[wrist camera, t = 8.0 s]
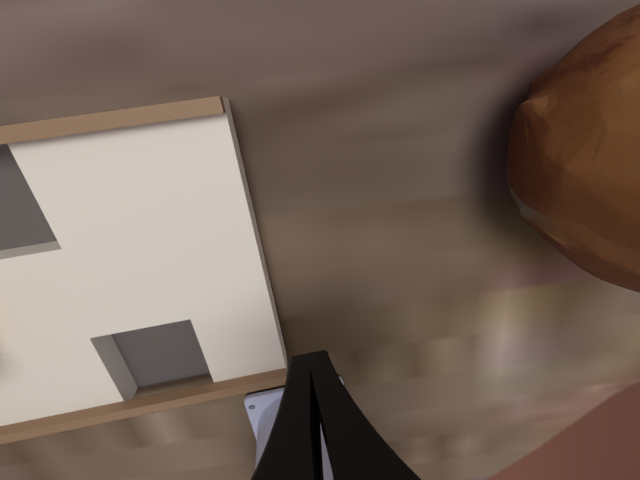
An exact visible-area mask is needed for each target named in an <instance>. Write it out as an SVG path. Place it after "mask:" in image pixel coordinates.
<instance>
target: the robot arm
mask: <svg viewBox="0 0 640 480" xmlns="http://www.w3.org/2000/svg"><path fill="white" fill-rule="evenodd" d="M244 404H245V407H246V410H247V413H248V416H249V420H250V423H251V426H252V429H253V432H254V435H255V438H256V441H257V447H256V466H255V472H254V474H253V476H252V478H251V480H421V479H420V478H419V477H418V476H417V475H416V474H415V473H414V472H413V471H412V470H411V469H410V468H409V467H408V466H407V465H406V464H405V463H404V462H403V461H402V460H401V459H400V458H399V457H398V456H397V455H396V453H395V452H394V451H393V450H392V449H391V448H390V447H389V446H388V444H387V443H386V442H385V441H384V440H383V439H382V437H381V436H380V435H379V434H378V433H377V431H376V430H375V429H374V428H373V426H372V425H371V424H370V423H369V421H368V420H367V419H366V417H365V416H364V415H363V413H362V412H361V410H360V409H359V408H358V406H357V405H356V403H355V402H354V401H353V399H352V398H351V396H350V394H349V393H348V391H347V390H346V388H345V387H344V383H343V379H342V378H341V377H339V376H338V375H337V373H336V371H335V369H334V367H333V365H332V363H331V360H330V358H329V355H328V352H327V351H325V350H322V351H317V352H313V353H308V354H303V355H298V356H293V357H291V358H290V359H289V367H288V373H287V378H286V383H285V387H283V388H278V389H273V390H269V391H264V392H259V393H254V394H250V395H247V396H246V397H245V399H244Z"/></svg>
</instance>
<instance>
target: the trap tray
mask: <svg viewBox="0 0 640 480" xmlns="http://www.w3.org/2000/svg"><path fill="white" fill-rule="evenodd" d="M208 373H210V374H211V376H212V379H213V382H214V383H209V384H204V385H199V386H194V387H190V388H185V389H180V390H175V391H170V392H165V393H160V394H155V395H151V396H146V397H141V398H136V399H133V397H134V395H135V393H136V391H137V389H138V388H139V387H144V386H149V385H153V384H158V383H163V382H168V381H173V380H178V379H183V378H188V377H193V376H198V375H203V374H208ZM286 378H287V354H286V350H285V345H284V341H283V337H282V332H281V328H280V323H279V319H278V315H277V310H276V306H275V302H274V297H273V293H272V288H271V284H270V280H269V275H268V271H267V266H266V262H265V258H264V253H263V249H262V245H261V240H260V236H259V231H258V227H257V223H256V218H255V214H254V210H253V205H252V201H251V196H250V192H249V188H248V183H247V179H246V174H245V170H244V166H243V161H242V157H241V153H240V148H239V144H238V139H237V135H236V131H235V126H234V122H233V118H232V113H231V109H230V104H229V100H228V98H224V97H221V96H217V97H209V98H202V99H195V100H188V101H180V102H173V103H166V104H158V105H151V106H144V107H137V108H129V109H122V110H115V111H107V112H100V113H93V114H85V115H78V116H71V117H64V118H56V119H49V120H42V121H34V122H27V123H20V124H13V125H5V126H0V444H5V443H10V442H15V441H19V440H24V439H29V438H34V437H38V436H43V435H48V434H53V433H58V432H62V431H67V430H72V429H77V428H81V427H86V426H91V425H96V424H101V423H105V422H110V421H115V420H120V419H124V418H129V417H134V416H139V415H144V414H148V413H153V412H158V411H163V410H167V409H172V408H177V407H182V406H187V405H191V404H196V403H201V402H206V401H210V400H215V399H220V398H225V397H230V396H234V395H239V394H244V393H249V392H253V391H258V390H263V389H268V388H273V387H277V386H282V385H285V383H286Z"/></svg>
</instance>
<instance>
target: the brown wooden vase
mask: <svg viewBox="0 0 640 480" xmlns="http://www.w3.org/2000/svg"><path fill="white" fill-rule="evenodd" d="M506 170H507V178H508V183H509V190H510V194H511V197H512V198H513V200H514V202H515V203H516V205H517V207H518V209H519V211H520V214H521V216H522V217H523V218H524V219H525V220H526V221H527V222H528V223H529V224H530V225H531V226H532V227H533V228H534V229H535V230H536V231H537V232H538V233H539V234H540V235H541V236H542V237H543V238H545V239H546V240H547V241H548V242H549V243H550V244H551V245H552V246H554V247H555V248H556V249H557V250H558V251H560V252H561V253H562V254H563V255H564V256H566V257H567V258H568V259H570V260H571V261H572V262H573V263H575V264H576V265H577V266H579V267H580V268H582V269H584V270H585V271H587V272H588V273H590V274H592V275H593V276H595V277H597V278H599V279H601V280H604V281H607V282H609V283H612V284H615V285H617V286H620V287H623V288H627V289H630V290H633V291H636V292H639V293H640V4H639V5H636V6H634V7H632V8H630V9H628V10H626V11H624V12H622V13H620V14H618V15H617V16H615V17H614V18H612V19H611V20H609V21H608V22H606V23H605V24H603V25H602V26H600V27H599V28H597V29H596V30H594V31H593V32H592V33H590V34H589V35H588V36H587V37H585V38H584V39H583V40H582V41H581V42H579V43H578V44H577V45H576V46H575V47H574V48H573V49H572V50H571V51H570V52H569V53H568V54H567V55H566V56H564V57H563V58H562V59H561V60H560V61H559V62H558V63H557V64H556V65H554V66H553V67H552V68H550V69H549V70H547V71H546V72H544V73H543V74H541V75H540V76H538V77H537V78H536V79H535V80H534V81H533V82H532V83H531V84H530V88H529V92H528V96H527V99H526V101H525V102H524V103H521V104H520V106H519V107H518V108H517V112H516V114H515V117H514V120H513V123H512V126H511V129H510V133H509V137H508V145H507V160H506Z"/></svg>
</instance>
